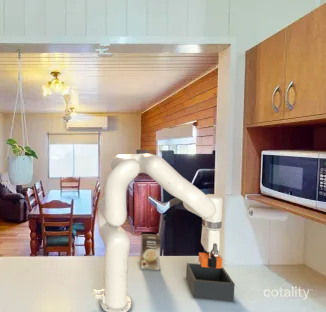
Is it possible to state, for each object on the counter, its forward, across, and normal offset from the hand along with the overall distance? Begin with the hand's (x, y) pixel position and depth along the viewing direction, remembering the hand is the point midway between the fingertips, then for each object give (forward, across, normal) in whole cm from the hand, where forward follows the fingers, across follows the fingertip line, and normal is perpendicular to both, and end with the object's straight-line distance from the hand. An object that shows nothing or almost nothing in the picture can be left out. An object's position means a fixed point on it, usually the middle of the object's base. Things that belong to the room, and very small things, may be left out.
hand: (209, 263), depth 107 cm
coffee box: (+12, -15, -24) cm, 31 cm away
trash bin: (+12, 0, 0) cm, 12 cm away
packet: (+1, 0, 0) cm, 1 cm away
